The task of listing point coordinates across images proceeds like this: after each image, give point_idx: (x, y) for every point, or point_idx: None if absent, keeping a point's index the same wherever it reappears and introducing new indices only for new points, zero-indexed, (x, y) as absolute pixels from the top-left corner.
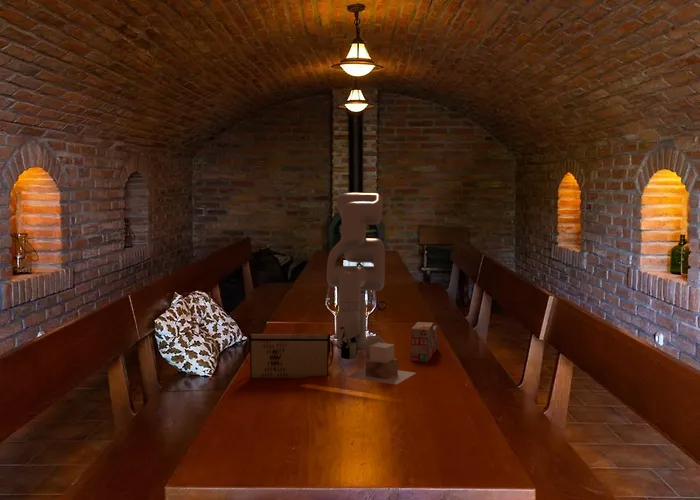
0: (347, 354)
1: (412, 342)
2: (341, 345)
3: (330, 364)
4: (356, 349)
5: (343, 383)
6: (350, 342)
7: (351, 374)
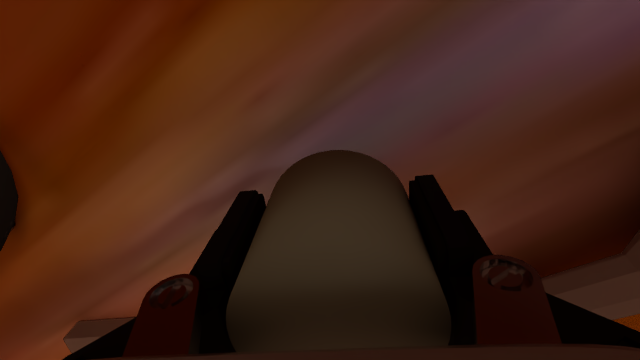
0: None
1: None
2: (125, 334)
3: (2, 243)
4: None
5: (30, 335)
6: (396, 322)
7: None
